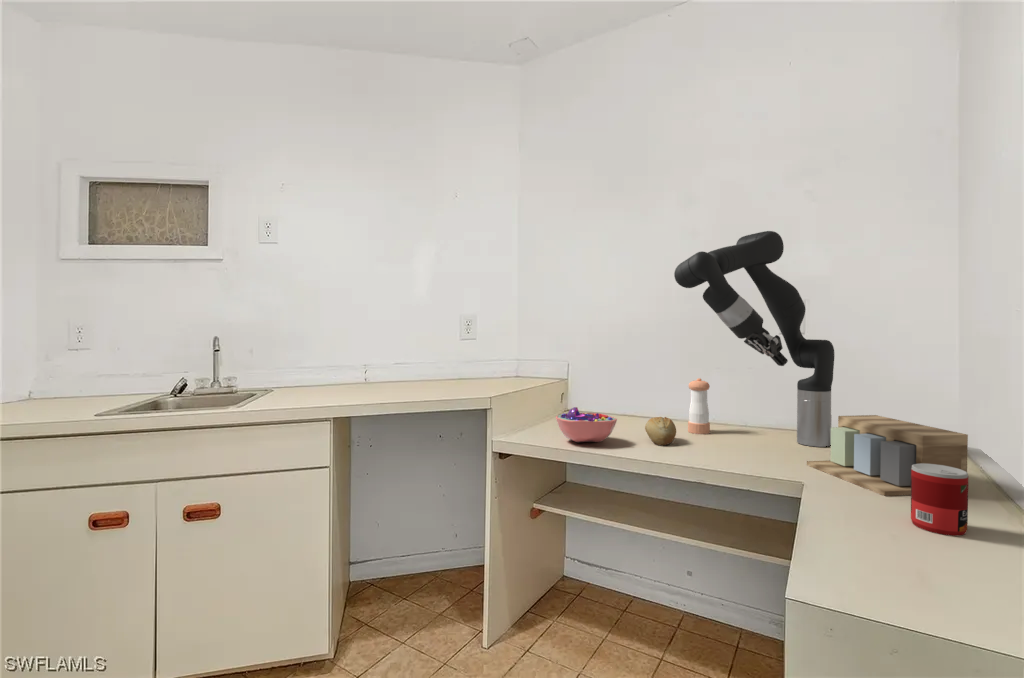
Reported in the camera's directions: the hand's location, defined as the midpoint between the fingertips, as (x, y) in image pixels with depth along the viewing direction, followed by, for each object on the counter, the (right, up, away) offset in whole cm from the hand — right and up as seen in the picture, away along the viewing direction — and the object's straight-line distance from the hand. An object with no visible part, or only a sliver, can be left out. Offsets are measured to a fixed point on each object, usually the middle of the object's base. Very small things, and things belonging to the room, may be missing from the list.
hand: (783, 363), depth 127 cm
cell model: (-46, -28, +34) cm, 63 cm away
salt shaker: (-4, -27, +48) cm, 56 cm away
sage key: (+20, -26, +3) cm, 33 cm away
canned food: (+9, -29, -36) cm, 47 cm away
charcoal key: (+22, -27, -13) cm, 37 cm away
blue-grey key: (+21, -26, -5) cm, 34 cm away
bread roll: (-21, -28, +35) cm, 49 cm away
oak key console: (+21, -28, -5) cm, 35 cm away
